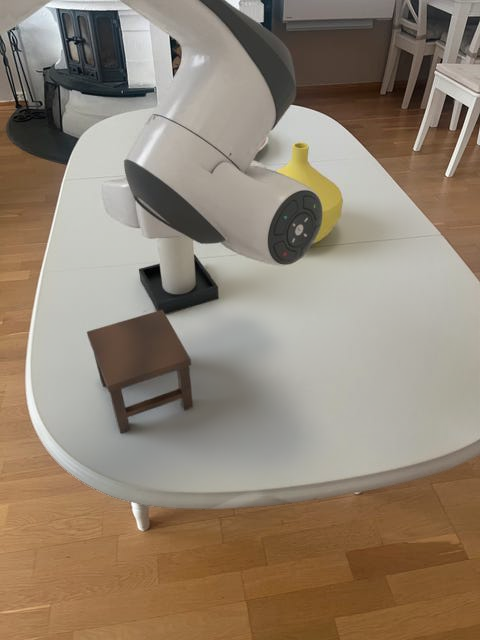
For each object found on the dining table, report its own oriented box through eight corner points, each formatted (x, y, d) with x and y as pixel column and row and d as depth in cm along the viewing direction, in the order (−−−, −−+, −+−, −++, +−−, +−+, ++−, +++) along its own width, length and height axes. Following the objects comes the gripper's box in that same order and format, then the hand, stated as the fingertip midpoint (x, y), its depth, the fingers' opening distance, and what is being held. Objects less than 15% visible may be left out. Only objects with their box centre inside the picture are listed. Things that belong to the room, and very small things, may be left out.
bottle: (169, 298, 90) (158, 206, 78) (157, 279, 94) (146, 188, 83) (200, 289, 92) (195, 197, 80) (188, 270, 96) (181, 181, 84)
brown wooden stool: (119, 435, 70) (107, 386, 64) (99, 380, 78) (86, 331, 71) (194, 407, 74) (190, 358, 67) (168, 357, 81) (162, 309, 75)
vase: (264, 206, 117) (267, 121, 104) (345, 221, 112) (359, 133, 100) (236, 249, 104) (236, 158, 91) (326, 268, 99) (340, 174, 87)
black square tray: (159, 316, 89) (158, 303, 87) (140, 280, 96) (138, 268, 94) (218, 298, 92) (218, 286, 91) (195, 265, 100) (194, 254, 98)
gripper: (287, 154, 62) (228, 141, 72) (124, 183, 53) (83, 164, 63) (287, 206, 65) (230, 187, 75) (133, 242, 55) (93, 214, 66)
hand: (162, 176), depth 69 cm, fingers open, 8 cm apart
